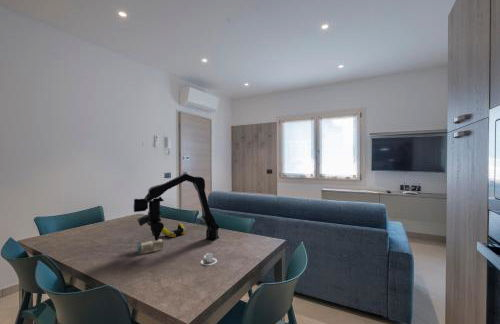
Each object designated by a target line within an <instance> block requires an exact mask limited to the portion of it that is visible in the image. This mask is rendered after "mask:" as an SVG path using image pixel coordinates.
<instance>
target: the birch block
mask: <svg viewBox="0 0 500 324" xmlns="http://www.w3.org/2000/svg"><path fill="white" fill-rule="evenodd" d="M136 246H137V248H136V249H137V250H136V251H137V254H138V255H143V254H147V253H152V252H157V251H162V250H164V240H163V239H162V238H160V239H159V238H158V240H157V241H155V239H154V240H148V241H142V242H141V241H140V242H137V245H136Z"/></svg>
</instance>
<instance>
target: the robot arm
mask: <svg viewBox="0 0 500 324" xmlns="http://www.w3.org/2000/svg"><path fill="white" fill-rule="evenodd" d="M185 182H188V183H192V186H193V187H194V189H195V190H196V193H197V195H198V199H199V203H200V206H201V210H202V216H200V218H201V221H202V222H201V223H202V224H204V226H206V231H205V235H206V236H205V237H206V238H205V240H208V241H216V240H217V239H219V238H220V235H219V229H220V225H219V224H217V222H216V219H215V218H214V215H213V214H212V212H211V210H210V206H209V201H208V199H207V195H206V191H205V190H206V181H205V178H204V177H201V176H193V175H190V174H187V173H182V174H181V175H178V176H176V177H175V178H173V179H171V180H168V181H167V182H164V183H161V184H157V185H153V186H151V187H149V189H148V191H147V192H148V193H147V194H146V195H145V197H144V198H134V199H133V212H134V213H137V212H138V213H139V212H145V211H147V210H148V212H147V214H145V215H143V216H141V217H139V218H137V219H136V221H137V222H138V224H139V227H142V226H144V225H145V224H147V225H148V226H149V228H150V229H149V230H150V231H151V233H152V234H151V235H152V236H153V237H154V240H155V241H157V240H159V238H160V236H161V234H162V229H163V228H164V227H165V226H164V223H163V222H162V219H161V214H162V211H161V202H164V201H165V200H164V198H162V195H163V194H165V192H166V191H168V190H170V189H173V188H174V187H176V186H178V185H180V184H182V183H185Z"/></svg>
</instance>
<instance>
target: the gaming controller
mask: <svg viewBox="0 0 500 324" xmlns="http://www.w3.org/2000/svg"><path fill="white" fill-rule="evenodd" d="M177 225H178V226H177V229H174V230H168V229H167V227H165V226H164V228H163V229H162V231H161V234H163V235H165V236H166V237H168V238H175V237H179V236H183V235H185V233H186V228H185V227H184V225H183V224H182V223H178V224H177Z"/></svg>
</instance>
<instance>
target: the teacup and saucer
mask: <svg viewBox="0 0 500 324" xmlns="http://www.w3.org/2000/svg"><path fill="white" fill-rule="evenodd" d="M204 261H206V262H207V263H205V262H204ZM212 261H214V262H212ZM217 262H218V259H217V258H215V257H213V252H207V253H205V255H203V259H201V260H200V264H201V265H202V266H203V265H204V266H212V265H216V264H217Z"/></svg>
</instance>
